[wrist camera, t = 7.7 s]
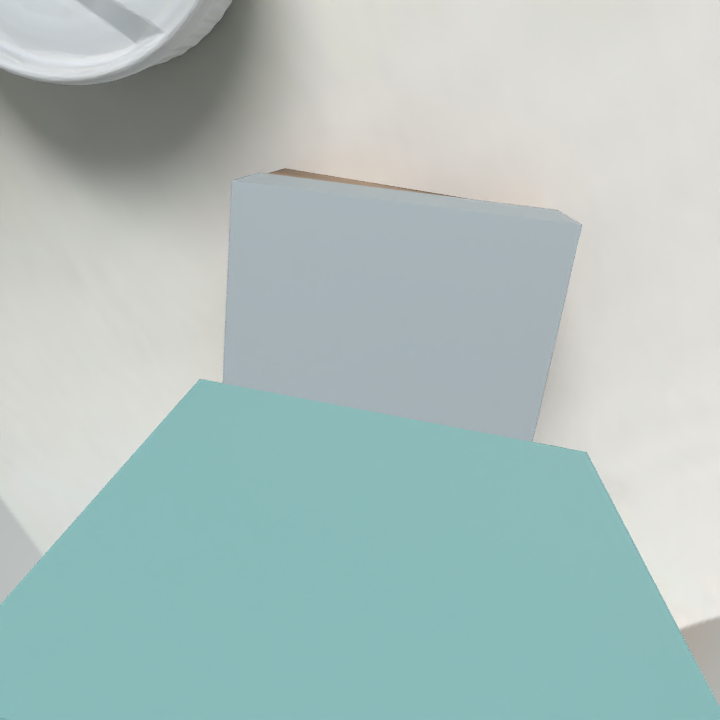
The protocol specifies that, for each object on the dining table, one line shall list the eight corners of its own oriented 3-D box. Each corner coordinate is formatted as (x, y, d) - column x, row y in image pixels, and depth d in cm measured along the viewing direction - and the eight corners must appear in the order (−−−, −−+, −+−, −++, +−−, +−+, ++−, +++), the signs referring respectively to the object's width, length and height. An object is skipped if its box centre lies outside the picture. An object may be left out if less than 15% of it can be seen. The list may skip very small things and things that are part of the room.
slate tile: (557, 210, 21) (581, 224, 18) (500, 474, 25) (512, 526, 22) (260, 172, 22) (231, 180, 19) (244, 436, 25) (218, 482, 22)
